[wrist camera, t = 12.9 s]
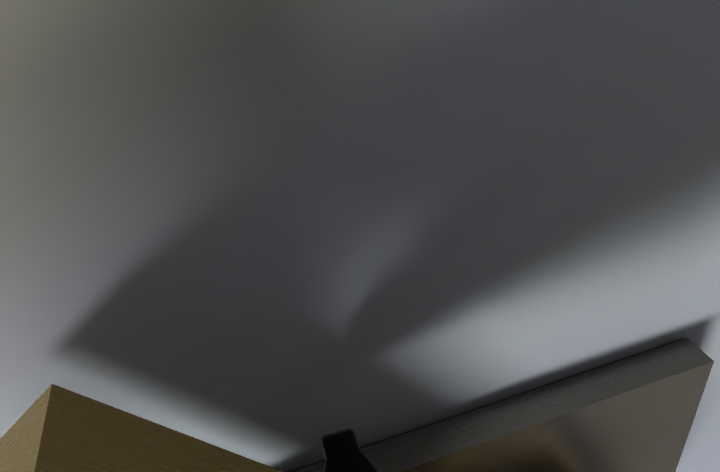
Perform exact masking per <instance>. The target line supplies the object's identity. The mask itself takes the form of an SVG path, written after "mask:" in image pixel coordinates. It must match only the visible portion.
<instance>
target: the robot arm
mask: <svg viewBox="0 0 720 472" xmlns="http://www.w3.org/2000/svg"><path fill="white" fill-rule="evenodd" d="M321 444H322V448H323V453H324V457H325V466H324V472H379V471H378V470H377V468H376V467H375V466H374V465H373V464H372V462H371V461H370V460H369V459H368V458H367V456H366V455H365V454H364V453H363V452H362V450H361V449H360V447H359V444H358V441H357V437H356V434H355V432H354V430H353V429H345V430H342V431H338V432H335V433H331V434H328V435H324V436H323V437H322V438H321Z"/></svg>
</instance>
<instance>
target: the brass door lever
mask: <svg viewBox="0 0 720 472" xmlns="http://www.w3.org/2000/svg"><path fill="white" fill-rule="evenodd" d="M0 472H283V471H280V470H278V469H275V468H272V467H270V466H267V465H264V464H262V463H259V462H256V461H254V460H251V459H249V458H246V457H243V456H241V455H238V454H235V453H233V452H230V451H228V450H225V449H222V448H220V447H217V446H214V445H212V444H209V443H206V442H204V441H201V440H199V439H196V438H193V437H191V436H188V435H185V434H183V433H180V432H178V431H175V430H172V429H170V428H167V427H164V426H162V425H159V424H156V423H154V422H151V421H149V420H146V419H143V418H141V417H138V416H135V415H133V414H130V413H127V412H125V411H122V410H120V409H117V408H114V407H112V406H109V405H106V404H104V403H101V402H99V401H96V400H93V399H91V398H88V397H85V396H83V395H80V394H77V393H75V392H72V391H70V390H67V389H64V388H62V387H59V386H56V385H54V384H51V385H50V387H49V388H48V389H47V390H46V391H45V392H44V393H43V394H42V395H41V396H40V397H39V398H38V399H37V400H36V401H35V402H34V404H33V405H32V406H31V407H30V408H29V409H28V410H27V411H26V412H25V413H24V414H23V415H22V416H21V417H20V418H19V420H18V421H17V422H16V423H15V424H14V425H13V426H12V427H11V428H10V429H9V430H8V431H7V432H6V433H5V434H4V436H3V437H2V438H1V439H0Z"/></svg>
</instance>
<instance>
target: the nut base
mask: <svg viewBox="0 0 720 472" xmlns="http://www.w3.org/2000/svg"><path fill="white" fill-rule="evenodd" d="M713 362H714V361H713V360H712V359H711V358H709V357H708V356H707V355H706V354H705V353H704V352H703V351H701V350H700V349H699V348H698V347H697V346H696V345H695V344H693V343H692V342H691V341H690V340H689V339H688V338H685V339H682V340H679V341H676V342H674V343H671V344H668V345H665V346H662V347H659V348H656V349H653V350H650V351H647V352H644V353H641V354H638V355H635V356H632V357H629V358H626V359H623V360H620V361H617V362H615V363H612V364H609V365H606V366H603V367H600V368H597V369H594V370H591V371H588V372H585V373H582V374H579V375H576V376H573V377H570V378H567V379H564V380H561V381H559V382H556V383H553V384H550V385H547V386H544V387H541V388H538V389H535V390H532V391H529V392H526V393H523V394H520V395H517V396H514V397H511V398H508V399H505V400H503V401H500V402H497V403H494V404H491V405H488V406H485V407H482V408H479V409H476V410H473V411H470V412H467V413H464V414H461V415H458V416H455V417H452V418H449V419H446V420H444V421H441V422H438V423H435V424H432V425H429V426H426V427H423V428H420V429H417V430H414V431H411V432H408V433H405V434H402V435H399V436H396V437H393V438H390V439H388V440H385V441H382V442H379V443H376V444H373V445H370V446H367V447H364V448H361V450H362V452H363V453H364V454H365V455H366V456H367V458H368V459H369V460H370V461H371V462H372V464H373V465H374V466H375V467H376V468H377V470H378V471H379V472H675V471H676V468H677V465H678V463H679V460H680V457H681V454H682V451H683V448H684V445H685V442H686V440H687V437H688V434H689V431H690V428H691V425H692V422H693V420H694V417H695V414H696V411H697V408H698V405H699V402H700V399H701V397H702V394H703V391H704V388H705V385H706V382H707V379H708V376H709V374H710V371H711V368H712V365H713ZM324 466H325V461H323V462H320V463H317V464H314V465H311V466H308V467H305V468H302V469H299V470H296V471H293V472H324Z"/></svg>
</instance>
